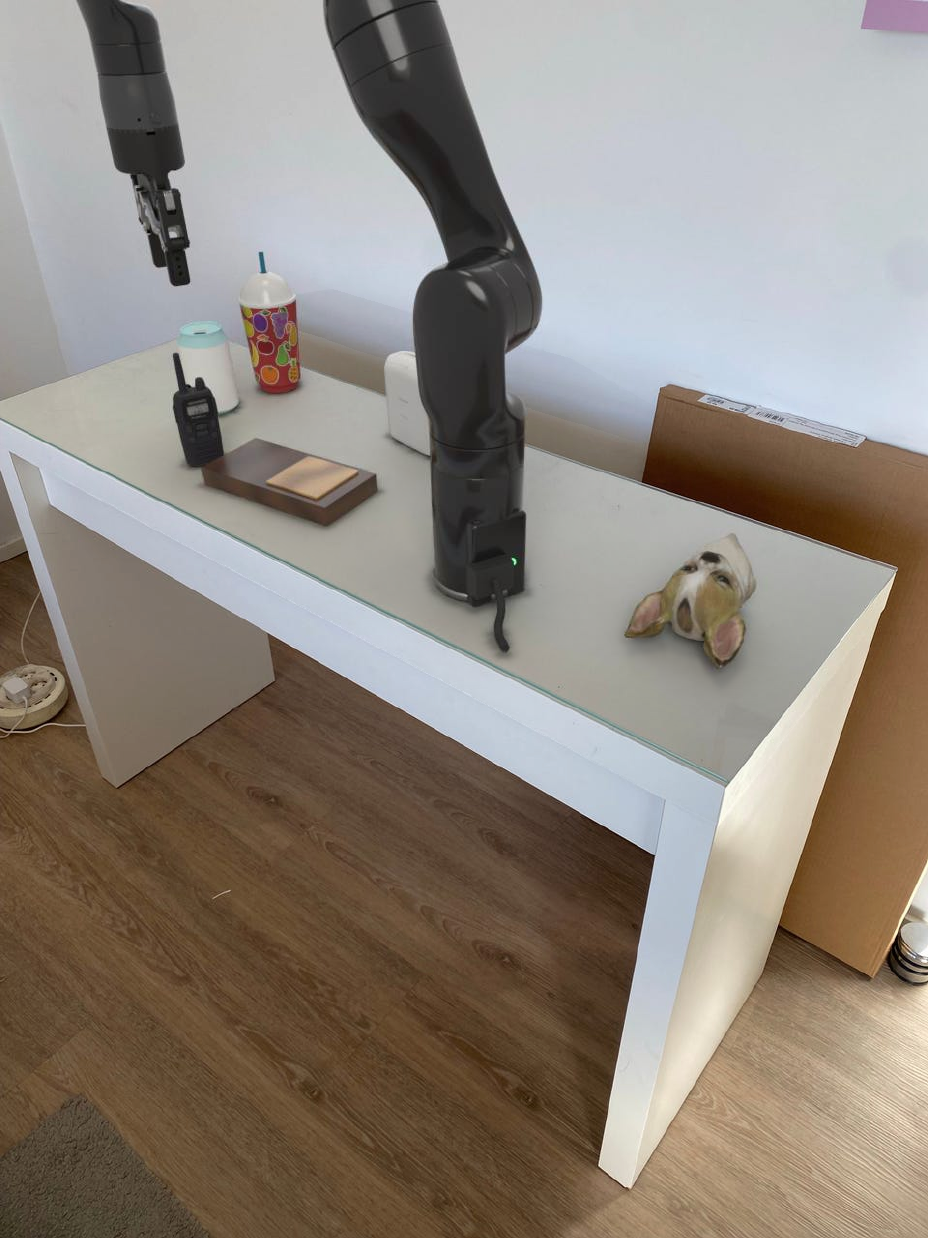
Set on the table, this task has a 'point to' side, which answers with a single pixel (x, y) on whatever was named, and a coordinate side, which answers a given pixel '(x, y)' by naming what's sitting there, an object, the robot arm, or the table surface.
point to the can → (209, 361)
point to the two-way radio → (196, 419)
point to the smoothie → (271, 330)
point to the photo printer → (405, 402)
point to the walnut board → (290, 480)
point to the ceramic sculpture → (702, 601)
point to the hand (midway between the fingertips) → (172, 275)
